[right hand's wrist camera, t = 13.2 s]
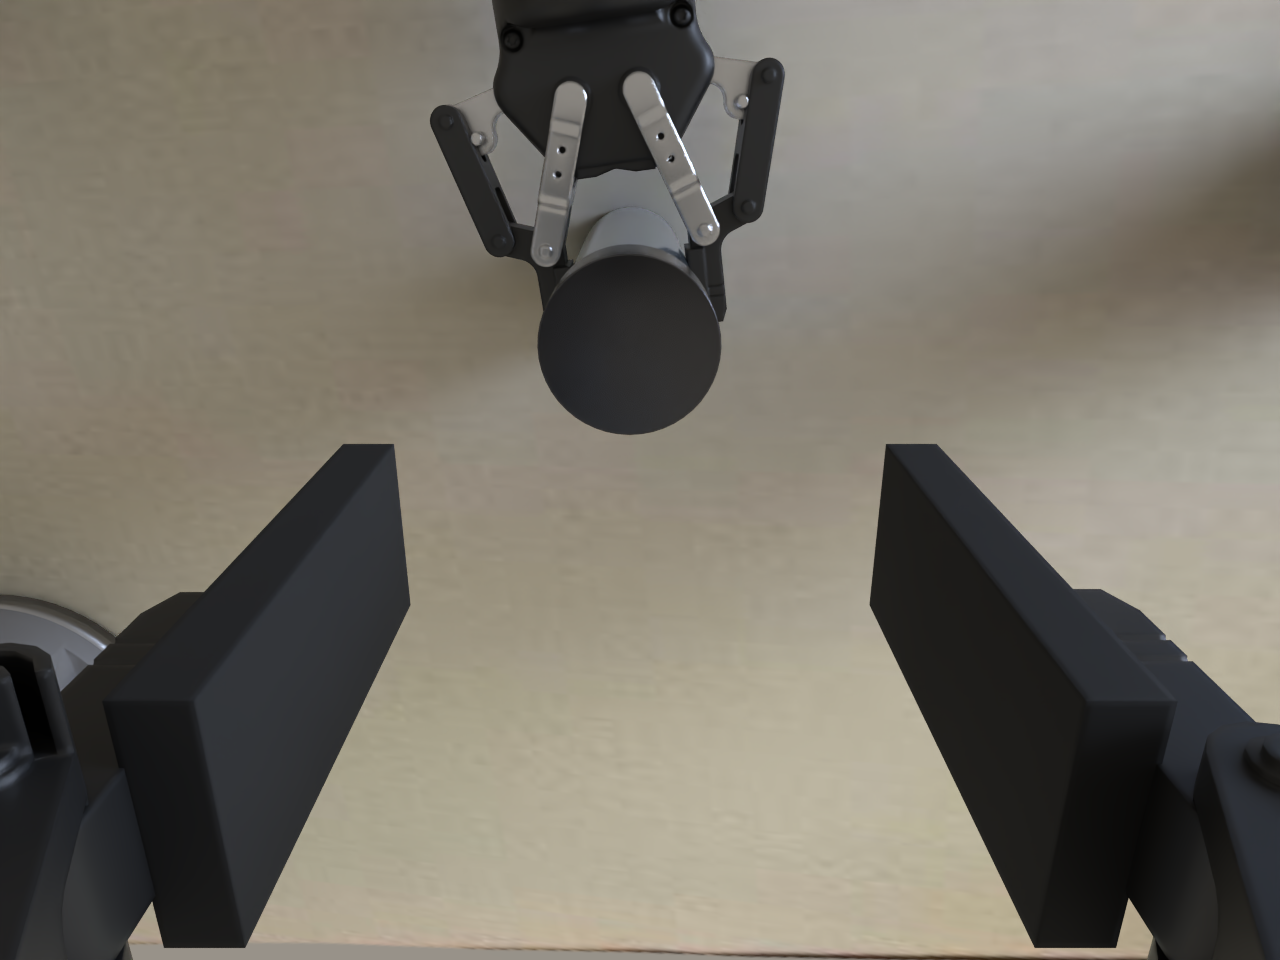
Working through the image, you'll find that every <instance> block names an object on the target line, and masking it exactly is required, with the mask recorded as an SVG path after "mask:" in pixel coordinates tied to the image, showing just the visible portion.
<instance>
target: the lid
mask: <svg viewBox="0 0 1280 960" xmlns="http://www.w3.org/2000/svg"><path fill="white" fill-rule="evenodd" d="M720 355H721V333H720V327H719V322H718V319H717V316H716V313H715V310H714V308H713V306H712V303H711V301H710V299H709V297H708V295H707V292H706V290H705V288H704V287H703V285H702V283H701V282H700V280H699V279H698V278H697V276H696V275H695V274H694V273H693V272H692V270H691V269H689V268H688V267H687V266H686V265H685V264H684V263H683V262H681V261H680V260H678V259H677V258H676V257H674V256H672V255H670V254H668V253H666V252H664V251H662V250H659V249H656V248H654V247H650V246H645V245H637V244H622V245H615V246H610V247H606V248H603V249H600V250H597V251H595V252H593V253H591V254H589V255H587V256H585V257H584V258H582V259H581V260H579V261H578V262H577V263H575V264H574V265H573V266H572V267H571V268H570V269H569V270H568V271H567V272H566V273H565V274H564V276H563V277H562V278H561V279H560V281H559V283H558V284H557V286H556V287H555V289H554V291H553V293H552V295H551V297H550V299H549V301H548V303H547V305H546V307H545V310H544V312H543V315H542V318H541V321H540V325H539V332H538V356H539V362H540V366H541V370H542V373H543V376H544V378H545V381H546V383H547V385H548V387H549V388H550V390H551V392H552V393H553V395H554V396H555V398H556V399H557V400H558V402H559V403H560V404H561V405H562V406H563V407H564V408H565V409H566V410H567V411H568V412H570V413H571V414H572V415H573V416H574V417H576V418H577V419H579V420H580V421H582V422H584V423H585V424H587V425H590V426H592V427H594V428H596V429H599V430H602V431H605V432H610V433H615V434H625V435H634V434H644V433H650V432H654V431H657V430H660V429H663V428H666V427H668V426H670V425H672V424H674V423H676V422H677V421H679V420H680V419H682V418H684V417H685V416H686V415H687V414H689V413H690V412H691V411H692V410H693V409H694V408H695V407H696V406H697V405H698V404H699V403H700V402H701V401H702V399H703V398H704V396H705V395H706V394H707V392H708V390H709V389H710V387H711V385H712V383H713V381H714V378H715V376H716V373H717V370H718V366H719V362H720Z"/></svg>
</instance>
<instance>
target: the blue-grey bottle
mask: <svg viewBox="0 0 1280 960" xmlns="http://www.w3.org/2000/svg"><path fill="white" fill-rule="evenodd" d="M622 244H637V245H645V246H650V247H654V248H656V249H659V250H662V251H664V252H666V253H668V254H670V255H672V256H674V257H676V258H677V259H678V260H680V261H681V262H683V263H684V264H685V265H686V266H687V267H688V268H689V266H688V263H687V261H686V258H685V256H684V253H683V250H682V248H681V245H680V243H679V240H678V238H677V236H676V233H675V232H674V230H673V229H672V227H671V226H670V225H669V224H668V222H667V221H666V220H664V219H663V218H662V217H661V216H659V215H658V214H656V213H654V212H652V211H650V210H647V209H644V208H639V207H624V208H619V209H616V210H613V211H611V212H609V213H607V214H606V215H604V216H603V217H601V218H600V219H599V220H598V221H597V222H596V223H595V224H594V225H593V227H592V228H591V230H590V231H589V233H588V235H587V237H586V239H585V242H584V244H583V246H582V248H581V250H580V252H579V255H578V257H577V259H576V261H575V263H577V262H578V261H579V260H581V259H582V258H584V257H585V256H587V255H589V254H591V253H593V252H595V251H597V250H600V249H603V248H606V247H610V246H615V245H622ZM575 263H574V264H575ZM689 269H690V268H689Z"/></svg>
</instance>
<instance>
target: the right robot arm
mask: <svg viewBox="0 0 1280 960" xmlns="http://www.w3.org/2000/svg"><path fill="white" fill-rule="evenodd" d="M409 607H410V596H409V586H408V577H407V567H406V557H405V547H404V538H403V528H402V518H401V508H400V499H399V489H398V479H397V469H396V460H395V450H394V444H343V445H342V446H341V447H340V448H339V449H338V450H337V451H336V452H335V454H334V455H333V456H332V457H331V458H330V459H329V460H328V461H327V462H326V463H325V464H324V465H323V466H322V467H321V468H320V470H319V471H318V472H317V473H316V474H315V475H314V476H313V477H312V478H311V479H310V480H309V481H308V482H307V483H306V484H305V485H304V487H303V488H302V489H301V490H300V491H299V492H298V493H297V494H296V495H295V496H294V497H293V498H292V499H291V500H290V501H289V502H288V504H287V505H286V506H285V507H284V508H283V509H282V510H281V511H280V512H279V513H278V514H277V515H276V516H275V517H274V518H273V520H272V521H271V522H270V523H269V524H268V525H267V526H266V527H265V528H264V529H263V530H262V531H261V532H260V533H259V534H258V535H257V537H256V538H255V539H254V540H253V541H252V542H251V543H250V544H249V545H248V546H247V547H246V548H245V549H244V550H243V551H242V553H241V554H240V555H239V556H238V557H237V558H236V559H235V560H234V561H233V562H232V563H231V564H230V565H229V566H228V567H227V568H226V570H225V571H224V572H223V573H222V574H221V575H220V576H219V577H218V578H217V579H216V580H215V581H214V582H213V583H212V584H211V585H210V587H209V588H208V589H207V590H206V591H205V592H179V593H178V594H176V595H174V596H172V597H170V598H168V599H167V600H165V601H163V602H161V603H159V604H157V605H156V606H154V607H152V608H150V609H148V610H146V611H145V612H143V613H141V614H140V615H139V616H138V617H137V618H136V619H135V620H134V621H133V622H132V623H131V624H130V625H129V626H128V627H127V628H125V629H124V630H123V631H122V632H121V633H120V634H119V635H118V636H117V637H116V638H115V637H114V636H113V635H111V634H110V633H109V632H108V631H106V630H105V629H103V628H102V627H100V626H99V625H97V624H96V623H94V622H92V621H91V620H89V619H87V618H85V617H83V616H82V615H80V614H77V613H75V612H73V611H71V610H69V609H66V608H63V607H61V606H58V605H55V604H52V603H49V602H45V601H42V600H37V599H32V598H28V597H20V596H9V595H0V960H133V959H132V955H131V951H130V947H129V944H128V939H129V937H130V935H131V934H132V932H133V931H134V929H135V927H136V926H137V924H138V923H139V921H140V919H141V918H142V916H143V915H144V913H145V912H146V910H147V908H148V907H149V905H150V904H151V902H153V906H154V910H155V914H156V918H157V922H158V926H159V930H160V934H161V938H162V942H163V946H164V948H245V947H246V945H247V943H248V941H249V939H250V937H251V935H252V933H253V930H254V928H255V926H256V924H257V922H258V920H259V918H260V916H261V914H262V912H263V910H264V908H265V906H266V904H267V901H268V899H269V897H270V895H271V893H272V891H273V889H274V887H275V885H276V883H277V881H278V879H279V877H280V874H281V872H282V870H283V868H284V866H285V864H286V862H287V860H288V858H289V856H290V854H291V852H292V850H293V847H294V845H295V843H296V841H297V839H298V837H299V835H300V833H301V831H302V829H303V827H304V825H305V823H306V821H307V818H308V816H309V814H310V812H311V810H312V808H313V806H314V804H315V802H316V800H317V798H318V796H319V794H320V791H321V789H322V787H323V785H324V783H325V781H326V779H327V777H328V775H329V773H330V771H331V769H332V767H333V764H334V762H335V760H336V758H337V756H338V754H339V752H340V750H341V748H342V746H343V744H344V742H345V740H346V738H347V735H348V733H349V731H350V729H351V727H352V725H353V723H354V721H355V719H356V717H357V715H358V713H359V711H360V708H361V706H362V704H363V702H364V700H365V698H366V696H367V694H368V692H369V690H370V688H371V686H372V684H373V681H374V679H375V677H376V675H377V673H378V671H379V669H380V667H381V665H382V663H383V661H384V659H385V657H386V655H387V652H388V650H389V648H390V646H391V644H392V642H393V640H394V638H395V636H396V634H397V632H398V630H399V628H400V625H401V623H402V621H403V619H404V617H405V615H406V613H407V611H408V609H409ZM870 607H871V609H872V611H873V613H874V615H875V617H876V619H877V621H878V623H879V625H880V628H881V630H882V632H883V634H884V636H885V638H886V640H887V642H888V644H889V646H890V648H891V650H892V652H893V655H894V657H895V659H896V661H897V663H898V665H899V667H900V669H901V671H902V673H903V675H904V677H905V679H906V681H907V684H908V686H909V688H910V690H911V692H912V694H913V696H914V698H915V700H916V702H917V704H918V706H919V708H920V711H921V713H922V715H923V717H924V719H925V721H926V723H927V725H928V727H929V729H930V731H931V733H932V735H933V738H934V740H935V742H936V744H937V746H938V748H939V750H940V752H941V754H942V756H943V758H944V760H945V762H946V764H947V767H948V769H949V771H950V773H951V775H952V777H953V779H954V781H955V783H956V785H957V787H958V789H959V791H960V794H961V796H962V798H963V800H964V802H965V804H966V806H967V808H968V810H969V812H970V814H971V816H972V818H973V821H974V823H975V825H976V827H977V829H978V831H979V833H980V835H981V837H982V839H983V841H984V843H985V845H986V847H987V850H988V852H989V854H990V856H991V858H992V860H993V862H994V864H995V866H996V868H997V870H998V872H999V874H1000V877H1001V879H1002V881H1003V883H1004V885H1005V887H1006V889H1007V891H1008V893H1009V895H1010V897H1011V899H1012V901H1013V904H1014V906H1015V908H1016V910H1017V912H1018V914H1019V916H1020V918H1021V920H1022V922H1023V924H1024V926H1025V928H1026V930H1027V933H1028V935H1029V937H1030V939H1031V941H1032V943H1033V945H1034V947H1035V948H1116V946H1117V942H1118V938H1119V934H1120V930H1121V926H1122V922H1123V918H1124V914H1125V910H1126V906H1127V902H1128V898H1129V899H1130V900H1131V902H1132V904H1133V905H1134V907H1135V908H1136V910H1137V911H1138V913H1139V915H1140V916H1141V918H1142V919H1143V921H1144V922H1145V924H1146V926H1147V927H1148V929H1149V930H1150V932H1151V933H1152V935H1153V940H1152V944H1151V947H1150V951H1149V955H1148V958H1147V960H1280V725H1278V724H1268V723H1258V722H1255V721H1254V720H1253V719H1252V718H1251V717H1250V716H1249V715H1248V714H1247V713H1246V712H1245V711H1244V710H1243V709H1242V708H1241V707H1240V706H1239V705H1237V704H1236V703H1235V702H1234V701H1233V700H1232V699H1231V698H1230V697H1229V696H1228V695H1227V694H1226V693H1225V692H1224V691H1223V690H1222V689H1221V688H1220V687H1219V686H1218V685H1217V684H1216V683H1215V682H1214V681H1213V680H1212V679H1211V678H1209V677H1208V676H1207V675H1206V674H1205V673H1204V672H1203V671H1202V670H1201V669H1200V668H1199V667H1198V666H1197V665H1196V664H1195V663H1194V662H1193V661H1188V660H1187V655H1186V654H1185V653H1184V652H1182V651H1181V650H1180V649H1179V648H1178V647H1177V646H1176V645H1175V644H1174V643H1173V642H1172V641H1171V640H1166V635H1165V634H1164V633H1163V632H1162V631H1161V630H1160V629H1159V628H1158V627H1157V626H1156V625H1154V624H1153V623H1152V622H1151V621H1150V620H1149V619H1148V618H1147V617H1146V616H1145V615H1144V614H1143V613H1142V612H1141V611H1140V610H1138V609H1136V608H1134V607H1133V606H1131V605H1129V604H1127V603H1125V602H1123V601H1122V600H1120V599H1118V598H1116V597H1114V596H1112V595H1110V594H1109V593H1107V592H1105V591H1103V590H1101V589H1072V588H1071V587H1070V585H1069V584H1068V583H1067V582H1066V581H1065V580H1064V579H1063V578H1062V577H1061V576H1060V575H1059V574H1058V573H1057V572H1056V571H1055V570H1054V568H1053V567H1052V566H1051V565H1050V564H1049V563H1048V562H1047V561H1046V560H1045V559H1044V558H1043V557H1042V556H1041V555H1040V554H1039V553H1038V551H1037V550H1036V549H1035V548H1034V547H1033V546H1032V545H1031V544H1030V543H1029V542H1028V541H1027V540H1026V539H1025V538H1024V537H1023V535H1022V534H1021V533H1020V532H1019V531H1018V530H1017V529H1016V528H1015V527H1014V526H1013V525H1012V524H1011V523H1010V522H1009V521H1008V520H1007V518H1006V517H1005V516H1004V515H1003V514H1002V513H1001V512H1000V511H999V510H998V509H997V508H996V507H995V506H994V505H993V504H992V502H991V501H990V500H989V499H988V498H987V497H986V496H985V495H984V494H983V493H982V492H981V491H980V490H979V489H978V488H977V487H976V485H975V484H974V483H973V482H972V481H971V480H970V479H969V478H968V477H967V476H966V475H965V474H964V473H963V472H962V471H961V470H960V468H959V467H958V466H957V465H956V464H955V463H954V462H953V461H952V460H951V459H950V458H949V457H948V456H947V455H946V454H945V452H944V451H943V450H942V449H941V448H940V447H939V446H938V445H937V444H886V450H885V460H884V469H883V479H882V489H881V499H880V508H879V518H878V528H877V538H876V547H875V557H874V567H873V577H872V586H871V596H870Z"/></svg>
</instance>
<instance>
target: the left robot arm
mask: <svg viewBox="0 0 1280 960" xmlns="http://www.w3.org/2000/svg"><path fill="white" fill-rule="evenodd" d="M492 4H493V9H494V15H495V21H496V27H497V33H498V39H499V47H500V55H499V63H498V68H497V71H496V74H495V77H494V82H493V88H492V89H490V90H488V91H486V92H483V93H481V94H479V95H476V96H474V97H472V98H470V99H467V100H465V101H463V102H461V103H458V104H456V105H441V106H439V107H437V108H435V109H434V111H433V112H432V114H431V117H430V124H431V128H432V130H433V132H434V135H435V137H436V139H437V141H438V143H439V146H440V148H441V150H442V152H443V155H444V157H445V159H446V161H447V164H448V166H449V168H450V170H451V172H452V175H453V177H454V179H455V181H456V184H457V186H458V188H459V190H460V193H461V195H462V197H463V199H464V202H465V204H466V206H467V208H468V210H469V213H470V215H471V217H472V219H473V222H474V224H475V226H476V228H477V231H478V233H479V235H480V237H481V239H482V242H483V244H484V246H485V248H486V250H487V251H488V252H489V253H490V254H491V255H493V256H495V257H504V256H507V257H512V258H516V259H521V260H524V261H526V262H528V263H530V264H531V265H532V266H533V267H534V269H535V270H536V273H537V276H538V282H539V287H540V293H541V299H542V305H543V311H544V310H545V307H546V305H547V303H548V301H549V299H550V297H551V295H552V293H553V291H554V289H555V287H556V286H557V284H558V283H559V281H560V279H561V278H562V277H563V276H564V274H565V273H566V272H567V271H568V270H569V269H570V268H571V267H572V266H573V265H574V263H573V259H572V260H568V257H567V251H566V245H565V244H566V238H567V233H568V227H569V222H570V216H571V211H572V206H573V202H574V197H575V192H576V186H577V181H578V179H584V178H591V177H597V176H599V175H601V174H604V173H606V172H608V171H611V170H613V169H623V170H631V171H642V170H649V169H656V167H657V168H658V170H659V172H660V174H661V176H662V178H663V180H664V182H665V184H666V186H667V189H668V191H669V193H670V195H671V197H672V199H673V201H674V203H675V205H676V207H677V209H678V212H679V214H680V216H681V218H682V220H683V222H684V224H685V226H686V228H687V232H688V241H689V243H688V244H684V247H685V256H686V261H687V263H688V266H689V268H690V269H691V270H692V272H693V273H694V274H695V275H696V276H697V278H698V279H699V280H700V282H701V283H702V285H703V287H704V288H705V290H706V292H707V295H708V297H709V299H710V301H711V303H712V306H713V308H714V310H715V313H716V316H717V319H718V322H721V321H723V320H724V316H725V313H726V309H727V307H726V297H725V287H724V276H723V266H722V256H721V245H722V242H723V240H724V238H725V237H726V235H727V234H728V233H730V232H731V231H733V230H735V229H737V228H739V227H741V226H742V225H744V224H746V223H751V222H754V221H756V220H757V219H758V218H759V217H760V216H761V214H762V212H763V208H764V202H765V195H766V189H767V183H768V177H769V171H770V164H771V158H772V152H773V146H774V140H775V133H776V127H777V121H778V115H779V108H780V102H781V96H782V90H783V84H784V77H785V72H784V68H783V66H782V64H781V63H780V62H779V61H778V60H776V59H774V58H765V59H762V60H761V61H759V62H752V61H744V60H736V59H729V58H721V57H714V56H713V53H712V50H711V48H710V46H709V45H708V43H707V42H706V40H705V39H704V37H703V35H702V33H701V31H700V28H699V25H698V22H697V17H696V8H695V0H492ZM710 84H713V85H715V86H717V87H718V88H719V89H720V90H721V92H722V95H723V105H724V109H725V111H726V113H727V114H728V115H729V116H730V117H732V118H734V119H739V125H738V131H737V138H736V145H735V152H734V159H733V165H732V172H731V179H730V186H729V193H728V195H726V196H724V197H722V198H720V199H718V200H717V201H715V202H713V203H711V204H709V202H708V199H707V197H706V195H705V193H704V191H703V189H702V187H701V184H700V182H699V179H698V177H697V175H696V172H695V170H694V168H693V166H692V164H691V162H690V159H689V157H688V155H687V153H686V151H685V149H684V146H683V144H682V142H681V138H682V136H683V134H684V132H685V131H686V129H687V127H688V125H689V123H690V121H691V119H692V117H693V115H694V113H695V111H696V110H697V108H698V106H699V104H700V102H701V100H702V98H703V96H704V94H705V92H706V90H707V88H708V87H709V85H710ZM503 113H504V114H505V115H506V116H507V117H508V118H509V119H510V120H511V121H512V122H513V123H514V125H515V126H516V127H517V128H518V129H519V130H520V131H521V132H522V133H523V134H524V135H525V136H526V138H527V139H528V140H529V141H530V142H531V143H532V144H533V145H534V146H535V147H536V148H537V149H538V150H539V152H540V153H541V154H542V155H543V156H544V157H545V160H544V165H543V171H542V177H541V183H540V189H539V196H538V208H537V214H536V220H535V226H534V227H531V226H527V225H522V224H518V223H517V222H516V220H515V218H514V215H513V213H512V211H511V208H510V206H509V204H508V201H507V199H506V197H505V194H504V192H503V190H502V187H501V185H500V183H499V180H498V178H497V176H496V173H495V171H494V169H493V167H492V164H491V162H490V160H489V157H488V155H487V154H489V153H491V152H493V151H494V149H495V148H496V146H497V143H498V136H497V132H496V123H497V120H498V118H499V117H500V116H501V115H502V114H503ZM670 157H671V159H669V158H670ZM668 159H669V160H668Z"/></svg>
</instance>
